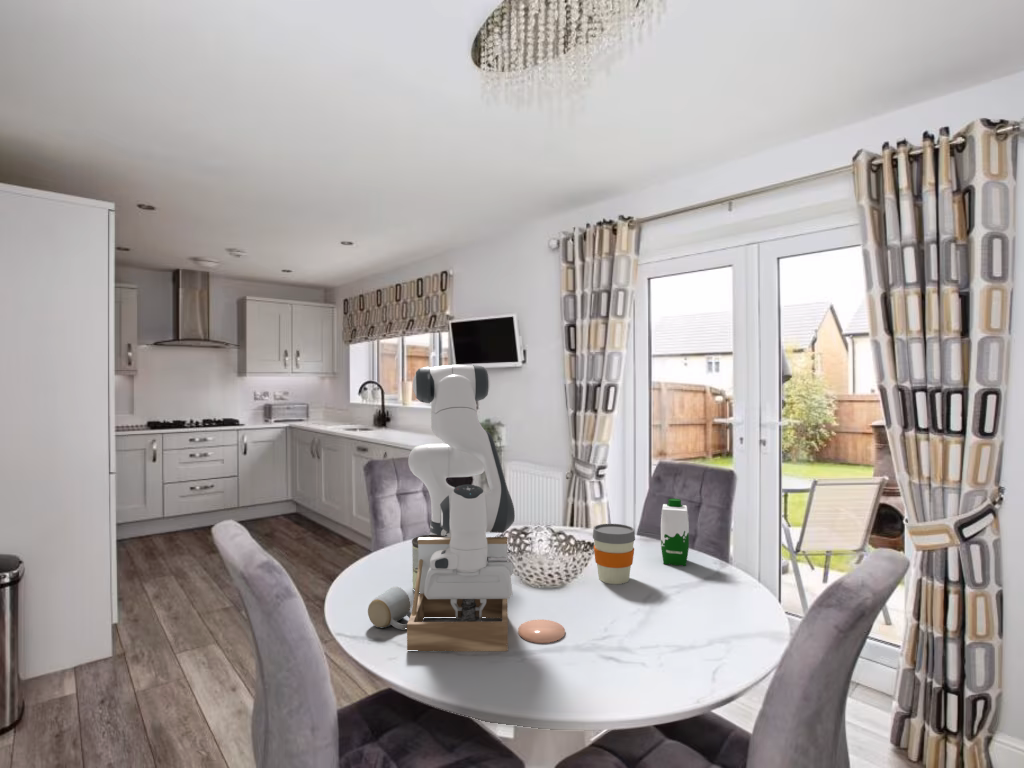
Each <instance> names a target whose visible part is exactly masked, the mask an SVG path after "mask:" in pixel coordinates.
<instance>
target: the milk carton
mask: <svg viewBox="0 0 1024 768" xmlns="http://www.w3.org/2000/svg"><path fill="white" fill-rule="evenodd" d="M667 501H668V502H667V503H663V504H662V508H661V516H660V518H661V519H660V547H661V548H660V549H661V555H662V563H663V565H668V564H672V565H671V566H679V565H683V566H682V567H686V566H687V562H688V555H689V548H690V528H689V527H690V523H689V520H690V516H689V511H688V506H687V505H684V504H682V500H681V499H680V498H676V497H675V498H668V499H667Z"/></svg>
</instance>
